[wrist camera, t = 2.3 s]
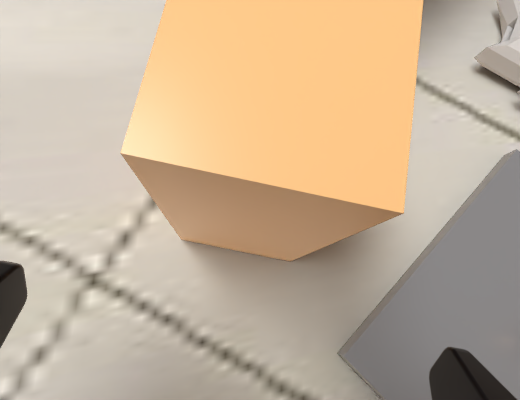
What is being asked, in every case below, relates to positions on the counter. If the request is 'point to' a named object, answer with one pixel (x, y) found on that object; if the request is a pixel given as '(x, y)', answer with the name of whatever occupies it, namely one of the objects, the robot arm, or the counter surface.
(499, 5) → the gun
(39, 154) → the counter surface
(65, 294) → the counter surface
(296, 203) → the tall tan pillar
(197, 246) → the counter surface
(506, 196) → the base plate
